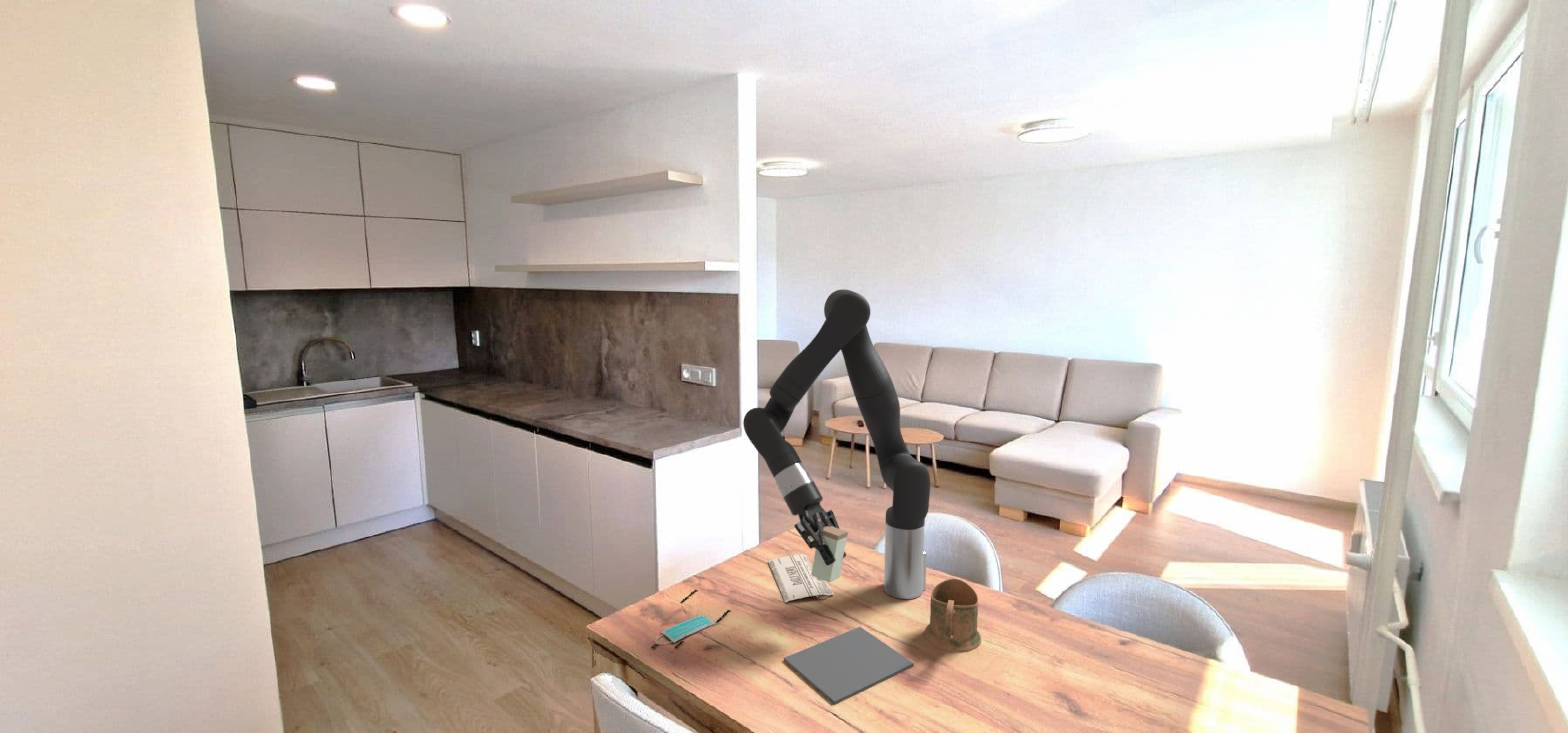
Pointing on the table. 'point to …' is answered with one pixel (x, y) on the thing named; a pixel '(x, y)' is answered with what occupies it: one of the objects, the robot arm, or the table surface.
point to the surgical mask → (688, 626)
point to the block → (837, 546)
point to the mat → (848, 664)
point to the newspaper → (797, 578)
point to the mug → (953, 617)
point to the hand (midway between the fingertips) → (836, 560)
